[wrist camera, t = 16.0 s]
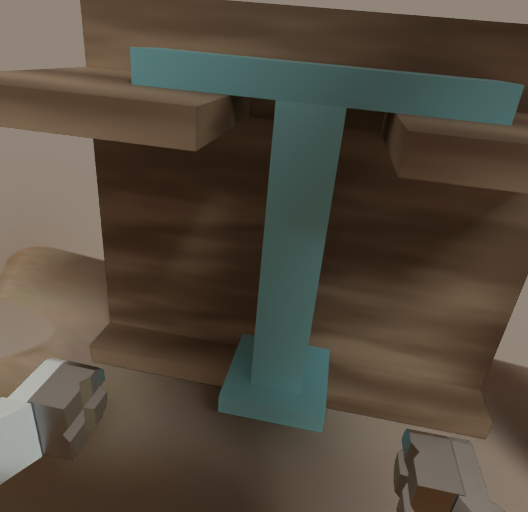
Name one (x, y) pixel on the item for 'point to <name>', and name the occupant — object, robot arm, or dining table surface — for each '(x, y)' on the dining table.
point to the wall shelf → (341, 212)
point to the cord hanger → (305, 197)
